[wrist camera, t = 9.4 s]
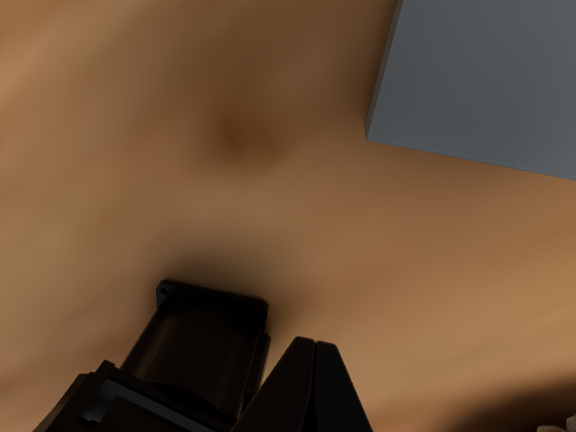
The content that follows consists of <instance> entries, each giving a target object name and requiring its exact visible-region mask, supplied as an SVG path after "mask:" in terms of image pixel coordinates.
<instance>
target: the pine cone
mask: <svg viewBox="0 0 576 432" xmlns="http://www.w3.org/2000/svg"><path fill="white" fill-rule="evenodd" d="M537 432H576V414H575V415H573V416H572V417H570V418H567V419H566V430H564V429H562V428H560V427H557V426H551V425H542V426H538V429H537Z"/></svg>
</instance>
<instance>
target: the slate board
mask: <svg viewBox="0 0 576 432" xmlns="http://www.w3.org/2000/svg"><path fill="white" fill-rule="evenodd" d="M365 132H366V140H368V141H373V142H378V143H383V144H389V145H394V146H399V147H404V148H409V149H414V150H420V151H425V152H430V153H435V154H440V155H446V156H451V157H456V158H461V159H466V160H471V161H477V162H482V163H487V164H492V165H497V166H502V167H508V168H513V169H518V170H523V171H528V172H533V173H539V174H544V175H549V176H554V177H559V178H565V179H570V180H575V181H576V0H397V3H396V6H395V10H394V14H393V18H392V22H391V26H390V30H389V34H388V38H387V41H386V45H385V49H384V53H383V57H382V61H381V65H380V69H379V73H378V76H377V80H376V84H375V88H374V92H373V96H372V100H371V104H370V108H369V111H368V115H367V119H366V123H365Z"/></svg>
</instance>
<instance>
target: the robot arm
mask: <svg viewBox="0 0 576 432" xmlns="http://www.w3.org/2000/svg"><path fill="white" fill-rule="evenodd" d="M165 288H166V289H168V290H166V289H165ZM156 297H157V310H156V312H155V313H154V315H153V316H152V318H151V320H150V321H149V323H148V324H147V326H146V328H145V329H144V331H143V332H142V334H141V335H140V337H139V339H138V340H137V342H136V343H135V345H134V346H133V348H132V350H131V351H130V353H129V354H128V356H127V357H126V359H125V361H124V362H123V364H122V365H121V367H120V368H117V367H115V365H116V364H114V363H112V362H110V361H108V360H106V359H105V360H104V361H103V362H102V364H101V365H100V366H99V368H98V369H97V371H96V372H90V373H89V374H79V375H78V376H77V378H76V379H75V380H74V382H73V383H72V385H71V386H70V387H69V389H68V390H67V391H66V393H65V394H64V395H63V397H62V398H61V399H60V401H59V402H58V403H57V405H56V406H55V407H54V408H53V409H52V411H51V412H50V413H49V414H48V415H47V416H46V417H45V418H44V419H43V421H42V422H41V423H40V424H39V425H38V426H37V427H36V428H35V429H34V430H33V432H373V430H372V428H371V425H370V423H369V421H368V418H367V416H366V414H365V411H364V409H363V407H362V404H361V402H360V400H359V397H358V395H357V392H356V390H355V388H354V385H353V383H352V381H351V378H350V376H349V374H348V371H347V369H346V367H345V364H344V362H343V360H342V357H341V355H340V353H339V350H338V348H337V346H336V345H335V344H333V343H328V342H324V341H317V342H316V343H315V340H314V339H310V338H306V337H301V336H297V337H295V338H294V340H293V341H292V342H291V344H290V345H289V347H288V348H287V350H286V351H285V353H284V354H283V355H282V357H281V358H280V360H279V361H278V363H277V364H276V366H275V367H274V369H273V370H272V371H271V373H270V374H269V376H268V377H267V379H266V380H265V382H264V383H263V384H262V380H263V376H264V371H265V367H266V362H267V357H268V351H269V346H270V341H271V337H270V336H269V334H267V333H264V332H265V326H266V320H267V314H268V305H267V303H265V302H264V301H261V300H257V299H253V298H248V297H243V296H239V295H234V294H229V293H225V292H220V291H216V290H211V289H206V288H202V287H197V286H192V285H188V284H183V283H179V282H174V281H169V280H163V281H161V282H160V283H159V285H158V286H157V289H156ZM257 308H260V309H261V310H258V309H257ZM261 384H262V386H261Z"/></svg>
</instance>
